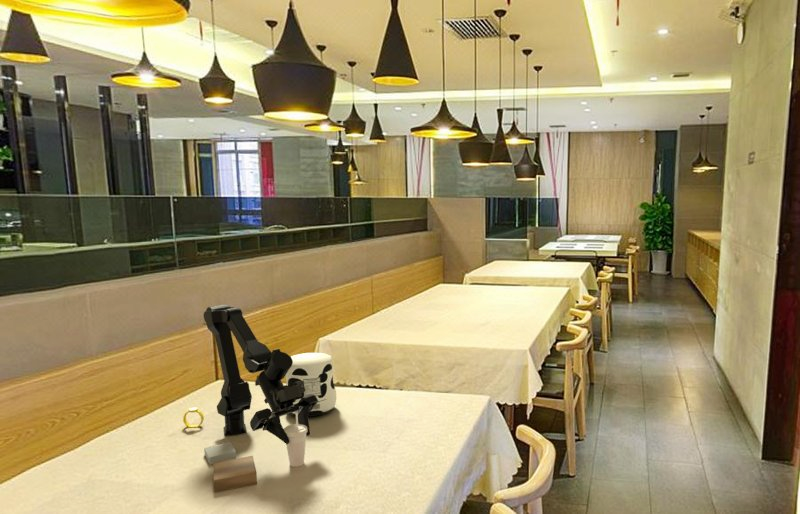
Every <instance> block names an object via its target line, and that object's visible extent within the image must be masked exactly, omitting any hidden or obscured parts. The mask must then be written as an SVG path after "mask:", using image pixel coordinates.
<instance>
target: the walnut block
mask: <svg viewBox="0 0 800 514" xmlns="http://www.w3.org/2000/svg"><path fill="white" fill-rule="evenodd" d="M212 468H213V469H212V471H213V474H212V475H213V488H214V490H213V491H214V493H217V492H223V491H228V490H232V489H237V488H242V487H248V486H253V485H258V480H257V479H258V475H257V467H256V464H255V460H254V456H253V455H249V456H248V455H247V456H244V457H238V458H237V457H236V458H234V459H230V460H225V461H219V462H214V463H213V464H212Z"/></svg>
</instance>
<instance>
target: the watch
mask: <svg viewBox="0 0 800 514" xmlns="http://www.w3.org/2000/svg"><path fill="white" fill-rule="evenodd" d="M188 413H197V414H198V415H199V416H200V419H201V421H200V423H199V424H190V423H189V422H188V420H187V414H188ZM204 418H205V417H204V414H203V412H202V411H201V410H200V409H198V407H189V408H188V410H187V411H185V413H184V415H183V417H182V420H183V421H182V422H183V424H184V425H185V426H186V427H187V428H199V427H200V426H201V425H202V424H203V422H204V420H205V419H204Z"/></svg>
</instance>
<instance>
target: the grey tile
mask: <svg viewBox="0 0 800 514" xmlns="http://www.w3.org/2000/svg"><path fill="white" fill-rule="evenodd" d="M203 451H204V452H203V453H204V456H205V458H206V461H207V462H208V464H209V465H213V463H214V462H219V461H225V460H231V459H236V458H237V451H236V449H235V448H234V446H233V445H232V443H231V441H229V442H228V441H227V442H224V443H219V444H215V445H211V446H206V447H204V448H203Z"/></svg>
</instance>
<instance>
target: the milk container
mask: <svg viewBox="0 0 800 514" xmlns="http://www.w3.org/2000/svg"><path fill="white" fill-rule="evenodd" d="M290 356H291V358H292V361H293V363H292V366H291V368H290V369H289V371H288V372H287V374H286V375H285V381H286V383H285V384H286V385H287V386H288V387H292V386H293V383H296V382H298V381H302V383H303V384H304V387H305V392H302V393H301V395H302V396H300V397H296V399H297V400H296V401H295V402H293V405H294V404H297V403H298V402H299V401H300V399H301V398H302V397H304V396H307V395H311V394H313V395H315V396H316V397H317V399H318V402H317V404H316V405H315V406H314V408H313V409H312V410H311V411H310V412H308V417H315V416H321V415H323V414H326V413H328V412H330V411H332V410H333V409H334V408H335V406H336V405H337V404H336V403H337V390H336V387H335V383H334V369H333V359H332V355H330V354H328V353H324V352H305V353H299V354H294V355H290ZM295 413H296V412H292V413H290V414H291V415H294V416H296V414H295Z"/></svg>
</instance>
